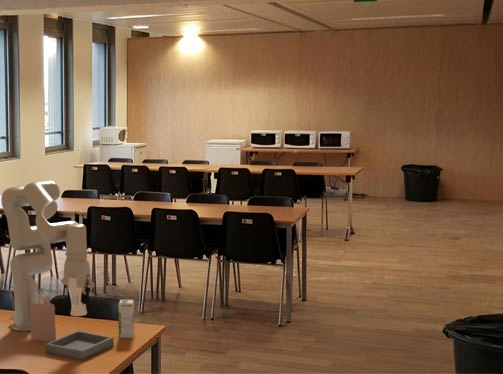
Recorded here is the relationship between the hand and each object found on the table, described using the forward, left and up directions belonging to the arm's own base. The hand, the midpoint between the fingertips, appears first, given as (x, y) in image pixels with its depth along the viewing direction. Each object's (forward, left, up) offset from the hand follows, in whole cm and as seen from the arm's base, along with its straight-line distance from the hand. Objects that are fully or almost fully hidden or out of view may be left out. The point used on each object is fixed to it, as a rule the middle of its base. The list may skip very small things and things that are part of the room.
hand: (78, 302), depth 275 cm
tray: (0, 0, -19) cm, 19 cm away
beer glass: (0, 0, -5) cm, 5 cm away
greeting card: (-21, +2, -19) cm, 28 cm away
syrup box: (+6, +21, -19) cm, 29 cm away
